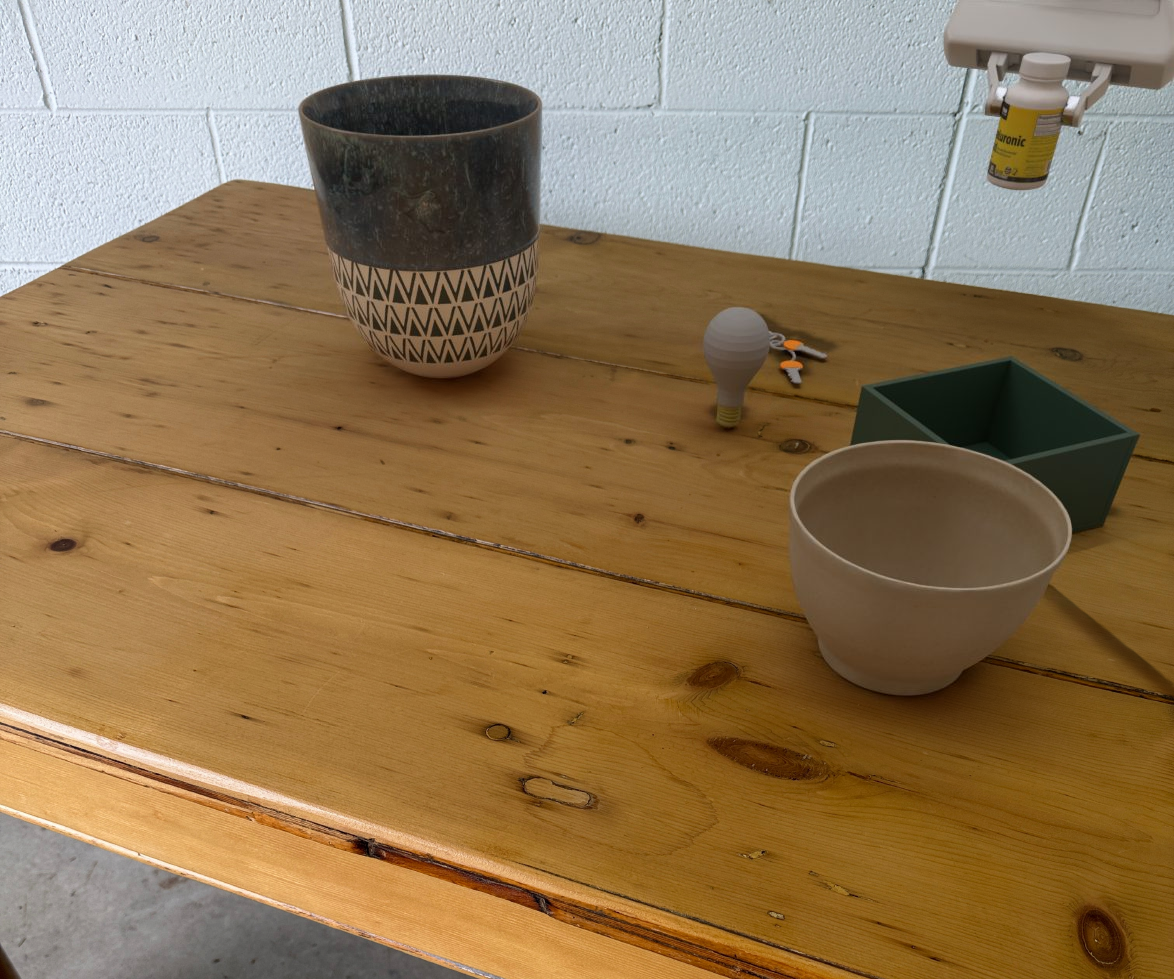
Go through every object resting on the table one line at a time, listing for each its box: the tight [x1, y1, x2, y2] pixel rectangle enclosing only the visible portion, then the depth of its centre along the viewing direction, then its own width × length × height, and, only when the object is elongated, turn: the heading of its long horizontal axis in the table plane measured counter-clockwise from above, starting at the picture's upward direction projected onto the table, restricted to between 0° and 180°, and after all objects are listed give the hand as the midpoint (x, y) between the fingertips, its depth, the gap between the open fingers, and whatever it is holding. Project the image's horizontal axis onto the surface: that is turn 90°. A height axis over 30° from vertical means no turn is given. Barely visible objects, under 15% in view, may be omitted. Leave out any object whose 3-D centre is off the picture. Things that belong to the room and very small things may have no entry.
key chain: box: [769, 330, 828, 385], centre depth 101 cm, size 13×7×1 cm, turn 36°
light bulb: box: [702, 306, 771, 429], centre depth 88 cm, size 6×6×10 cm
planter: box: [297, 73, 543, 379], centre depth 92 cm, size 20×20×21 cm
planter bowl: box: [788, 440, 1073, 696], centre depth 65 cm, size 16×16×11 cm
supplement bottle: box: [986, 53, 1071, 191], centre depth 94 cm, size 5×5×10 cm
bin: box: [849, 355, 1141, 535], centre depth 80 cm, size 14×14×8 cm
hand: (1031, 117), depth 94 cm, fingers closed on supplement bottle, 5 cm apart
